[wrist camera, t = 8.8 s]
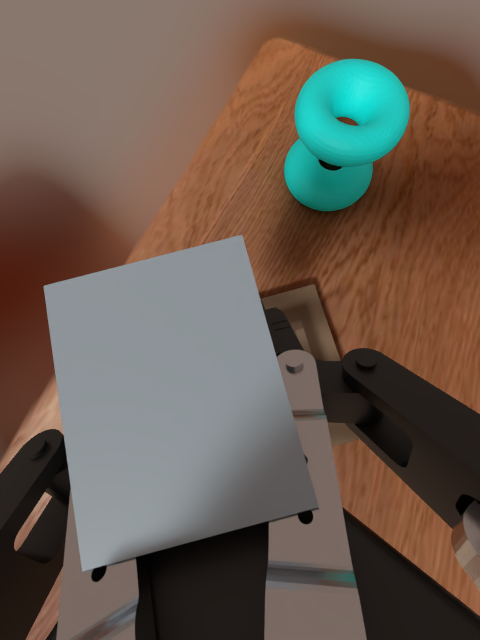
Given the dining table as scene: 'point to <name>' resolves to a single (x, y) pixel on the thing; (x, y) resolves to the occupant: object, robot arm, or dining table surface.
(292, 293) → the socket board
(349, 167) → the donuts
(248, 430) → the gray rectangular block
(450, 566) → the dining table surface
